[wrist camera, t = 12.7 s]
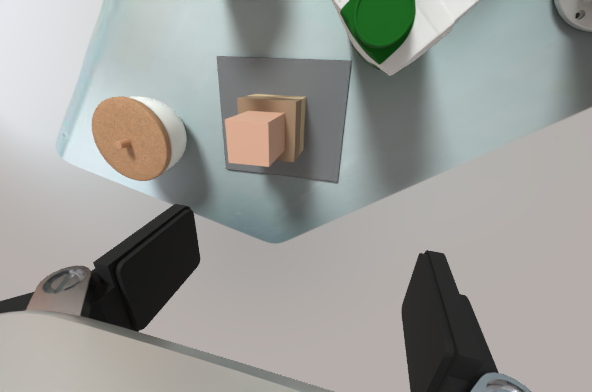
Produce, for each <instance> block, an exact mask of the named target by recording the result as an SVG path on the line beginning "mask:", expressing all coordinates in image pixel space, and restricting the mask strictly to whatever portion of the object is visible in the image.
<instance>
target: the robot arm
mask: <svg viewBox="0 0 592 392" xmlns="http://www.w3.org/2000/svg"><path fill="white" fill-rule="evenodd" d="M554 3H555V6H556V8H557V11H558V13H559V15H560V16H561V17H562V18H563V19H564V21H565V22H566V23H568V24H569V25H571V26H572V27H574V28H576V29H579V30H582V31H586V32H592V0H554ZM576 14H577V17H576V18H575V15H576ZM199 262H200V254H199V247H198V240H197V233H196V226H195V219H194V213H193V211H192V210H191V209H190V207H188V206H184V205H179V204H175V205H173V206H171V207H170V208H169V209H167V210H166V211H165V212H163V213H162V214H160V215H159V216H157V217H156V218H155V219H153V220H152V221H150V222H149V223H148V224H146V225H145V226H143V227H142V228H141V229H139V230H138V231H136V232H135V233H134V234H132V235H131V236H129V237H128V238H127V239H125V240H124V241H123V242H121V243H120V244H118V245H117V246H116V247H114V248H113V249H111V250H110V251H109V252H107V253H106V254H104V255H103V256H102V257H100V258H99V259H97V260H96V261H95V262H93V263H94V266H95V269H94V270H92V271H91V270H90V269H89V268H87V267H85V266H71V267H67V268H64V269H60V270H58V271H56V272H54V273H52V274H50V275H49V276H47V277H46V278H44V279H43V280H42V281H41V282H40V283H39V285H38V286H37V288H36V290H35V292H32V293H29V294H25V295H21V296H18V297H14V298H11V299H7V300H3V301H0V392H334V391H330V390H327V389H324V388H321V387H318V386H314V385H311V384H308V383H305V382H301V381H298V380H295V379H292V378H288V377H285V376H282V375H279V374H275V373H272V372H269V371H266V370H263V369H259V368H256V367H253V366H249V365H246V364H243V363H239V362H236V361H233V360H230V359H226V358H223V357H219V356H216V355H213V354H210V353H206V352H203V351H200V350H197V349H193V348H190V347H186V346H183V345H180V344H177V343H173V342H170V341H166V340H163V339H160V338H156V337H153V336H150V335H146V334H143V333H139V332H138V331H139V330H142V329H144V328H145V327H146V326H147V325H148V324H149V323H150V321H151V320H152V319H153V318H154V317H155V315H156V314H157V313H158V312H159V311H160V310H161V309H162V307H163V306H164V305H165V304H166V303H167V302H168V300H169V299H170V298H171V297H172V296H173V295H174V293H175V292H176V291H177V290H178V289H179V288H180V286H181V285H182V284H183V283H184V282H185V281H186V279H187V278H188V277H189V276H190V275H191V274H192V272H193V271H194V270H195V269H196V268H197V266H198V265H199ZM402 321H403V330H404V338H405V347H406V356H407V364H408V373H409V381H410V390H411V392H531V391H530V390H529V389H528V388H527V387H526V386H524V385H523V384H521V383H520V382H518V381H517V380H515V379H513V378H511V377H509V376H507V375H504V374H499V373H498V370H497V368H496V365H495V363H494V360H493V358H492V355H491V353H490V351H489V348H488V346H487V343H486V341H485V338H484V336H483V333H482V331H481V328H480V326H479V323H478V321H477V319H476V316H475V314H474V311H473V309H472V306H471V304H470V302H469V300H468V298H467V297H466V296H465V295H461V294H459V291H458V289H457V286H456V283H455V281H454V278H453V275H452V273H451V270H450V267H449V265H448V262H447V259H446V257H445V255H444V254H443V253H438V252H433V251H428V250H427V251H426V252H425V253H424V254H422V253H420V254H419V256H418V259H417V262H416V265H415V268H414V271H413V274H412V277H411V280H410V283H409V286H408V289H407V292H406V296H405V298H404V301H403V304H402Z"/></svg>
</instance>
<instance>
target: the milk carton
mask: <svg viewBox="0 0 592 392" xmlns="http://www.w3.org/2000/svg"><path fill="white" fill-rule="evenodd" d="M479 1H480V0H332V2H333V4H334V6H335V8H336V10H337V12H338V14H339V16H340V18H341V21H342V23H343V25H344V27H345V29H346V31H347V34H348V36H349V39H350V41H351V43H352V45H353V46H354V48H355V49H356V51H357V52H358V53H359V55H360V56H361V57H362V58H363V59H364V60H365V61H366V62H367V63H369V64H370V65H372V66H374V67H375V68H377V69H379V70H380V69H381V70H382V71H384V72H385V73H386V74H388V75H389V76H391V75H393V74H395V73H396V72H398V71H399V70H401V69H403V68H404V67H406V66H407V65H409V64H410V63H412V62H413V61H415V60H416V59H417V58H419V57H420V56H421V55H423V54H424V53H425V52H426V51H427V50H429V49H430V48H431V47H432V46H434V45H435V44H436V43H438V42H439V41H440V40H441V39H442V38H443V37H445V36H446V35H447V34H448V33H449V32H450V31H451V29H452V28H453V25H454V24H455V23H456V22H457V21H458V20H459V19H460V18H461V17H462V16H463V15H464V14H465V13H467V12H468V11H469V10H470V9H471V8H472V7H473V6H474V5H475V4H476V3H477V2H479Z"/></svg>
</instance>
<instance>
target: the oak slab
mask: <svg viewBox="0 0 592 392" xmlns="http://www.w3.org/2000/svg"><path fill="white" fill-rule="evenodd" d="M248 96H259V97H276V98H292V99H302V102H301V125H300V149H299V155H300V153H301V152H302V151H303V149H304V132H305V112H306V97H301V96H284V95H268V94H252V95H248Z"/></svg>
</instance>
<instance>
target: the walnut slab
mask: <svg viewBox="0 0 592 392" xmlns="http://www.w3.org/2000/svg"><path fill="white" fill-rule="evenodd" d="M301 102H302V99H292V98H276V97H259V96H244V97H239V98H237V108H238V114H241V113H244V112H246V111H261V112H278V113H285V151H284V152H283V153H282V154H281V155H280V156H279V157H278V158H277V159H276V160H278V161H287V162H295V160H296V159H297V158H298V156H299V149H300V125H301Z"/></svg>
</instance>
